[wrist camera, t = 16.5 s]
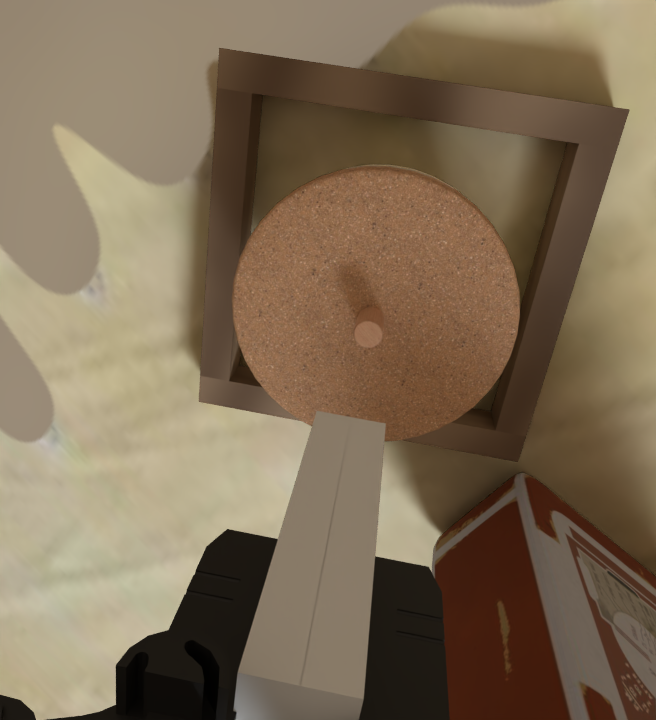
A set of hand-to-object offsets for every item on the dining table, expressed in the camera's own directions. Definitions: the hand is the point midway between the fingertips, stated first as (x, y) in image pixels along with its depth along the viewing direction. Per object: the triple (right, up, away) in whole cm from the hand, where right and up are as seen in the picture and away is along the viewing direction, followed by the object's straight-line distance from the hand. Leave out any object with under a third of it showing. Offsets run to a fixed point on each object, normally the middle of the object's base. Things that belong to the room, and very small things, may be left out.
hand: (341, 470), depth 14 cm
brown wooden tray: (+3, +7, +16) cm, 18 cm away
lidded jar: (+2, +7, +17) cm, 18 cm away
